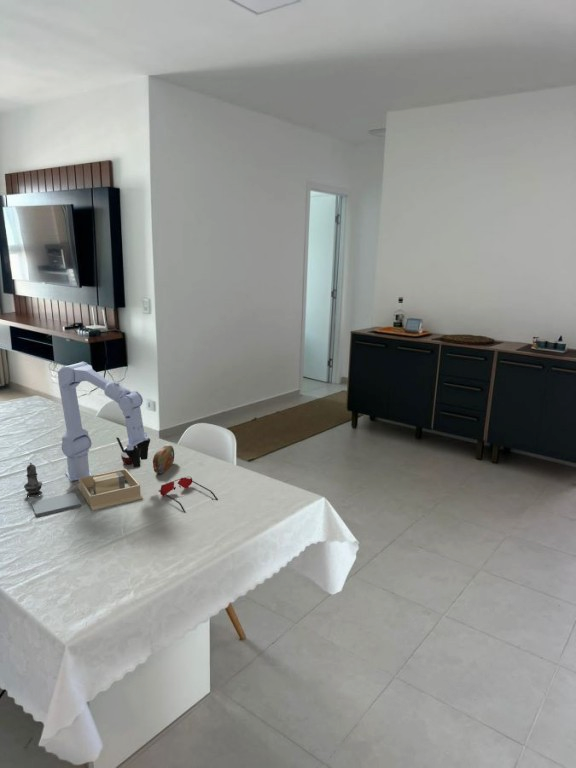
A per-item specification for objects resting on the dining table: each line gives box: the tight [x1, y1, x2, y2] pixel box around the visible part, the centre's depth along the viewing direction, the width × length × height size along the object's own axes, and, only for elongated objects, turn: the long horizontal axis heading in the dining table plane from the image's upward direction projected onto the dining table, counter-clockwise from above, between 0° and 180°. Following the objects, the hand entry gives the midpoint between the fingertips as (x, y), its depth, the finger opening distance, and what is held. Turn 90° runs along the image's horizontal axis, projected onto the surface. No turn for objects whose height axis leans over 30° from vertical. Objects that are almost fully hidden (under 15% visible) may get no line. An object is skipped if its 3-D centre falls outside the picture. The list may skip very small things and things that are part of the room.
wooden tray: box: [77, 468, 144, 511], centre depth 189 cm, size 22×17×4 cm
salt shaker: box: [23, 462, 43, 498], centre depth 185 cm, size 6×6×12 cm
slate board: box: [30, 492, 82, 517], centre depth 179 cm, size 10×14×1 cm
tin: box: [152, 445, 175, 474], centre depth 209 cm, size 15×3×8 cm, turn 168°
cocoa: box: [116, 437, 133, 466], centre depth 214 cm, size 10×6×12 cm, turn 117°
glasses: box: [158, 476, 219, 514], centre depth 185 cm, size 14×16×5 cm
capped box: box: [92, 472, 126, 495], centre depth 188 cm, size 4×10×6 cm, turn 123°
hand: (140, 463), depth 189 cm, fingers open, 7 cm apart
